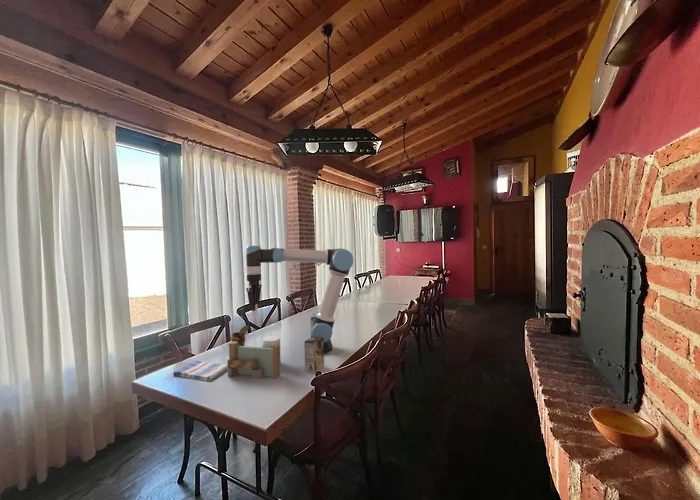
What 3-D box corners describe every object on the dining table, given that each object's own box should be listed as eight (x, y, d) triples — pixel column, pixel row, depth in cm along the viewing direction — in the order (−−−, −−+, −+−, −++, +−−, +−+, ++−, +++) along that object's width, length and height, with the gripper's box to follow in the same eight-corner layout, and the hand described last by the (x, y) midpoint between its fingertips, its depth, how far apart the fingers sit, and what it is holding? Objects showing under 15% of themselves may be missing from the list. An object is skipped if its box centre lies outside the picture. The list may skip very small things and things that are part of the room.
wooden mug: (241, 357, 177) (240, 326, 176) (226, 352, 185) (225, 323, 184) (253, 352, 185) (252, 323, 184) (239, 348, 192) (238, 319, 191)
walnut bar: (226, 367, 152) (226, 359, 152) (229, 365, 155) (229, 357, 154) (256, 369, 149) (256, 361, 149) (258, 367, 152) (258, 359, 152)
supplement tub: (274, 369, 161) (274, 342, 160) (259, 367, 163) (258, 340, 163) (283, 362, 170) (283, 336, 169) (269, 360, 173) (268, 334, 172)
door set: (280, 375, 154) (279, 344, 153) (274, 381, 147) (273, 349, 147) (233, 371, 159) (232, 341, 158) (226, 376, 152) (225, 345, 152)
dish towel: (209, 382, 148) (209, 377, 147) (171, 376, 154) (171, 371, 154) (233, 368, 164) (233, 362, 164) (197, 363, 171) (197, 358, 171)
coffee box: (314, 364, 166) (314, 335, 166) (324, 367, 163) (324, 337, 162) (304, 371, 158) (304, 340, 158) (314, 373, 155) (314, 343, 154)
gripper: (253, 272, 174) (254, 312, 175) (241, 275, 162) (242, 318, 163) (265, 272, 173) (266, 313, 174) (254, 275, 160) (255, 319, 161)
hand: (254, 315), depth 168 cm, fingers closed
